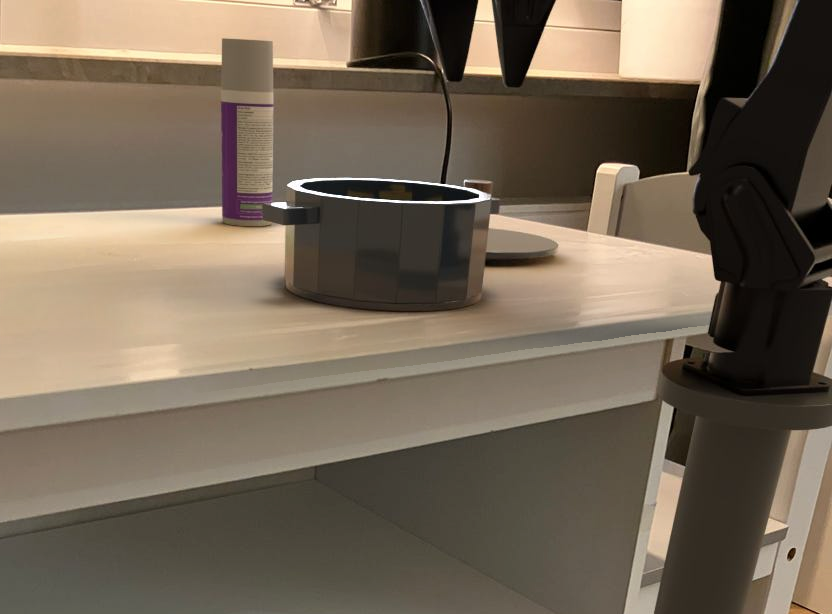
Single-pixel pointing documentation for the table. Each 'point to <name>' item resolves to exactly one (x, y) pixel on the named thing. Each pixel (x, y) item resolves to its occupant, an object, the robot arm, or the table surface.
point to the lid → (511, 238)
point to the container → (246, 130)
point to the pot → (384, 242)
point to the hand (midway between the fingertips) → (481, 84)
